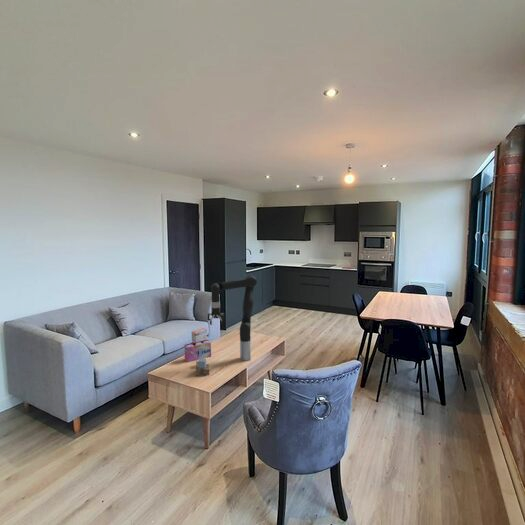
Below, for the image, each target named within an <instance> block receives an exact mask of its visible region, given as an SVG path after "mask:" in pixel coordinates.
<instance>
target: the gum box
mask: <svg viewBox="0 0 525 525" xmlns="http://www.w3.org/2000/svg"><path fill="white" fill-rule="evenodd" d="M210 357H212V342H211V341H210V340H209V339H207V340H204V341H200V342H195V343H192V342H191V343H187V344H184V360H185V361H186V362H187V363H190V362H195V361H196V360H199V359H206V358H210Z"/></svg>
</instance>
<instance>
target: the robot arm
mask: <svg viewBox="0 0 525 525" xmlns="http://www.w3.org/2000/svg"><path fill="white" fill-rule="evenodd" d="M257 280H258V279H257V278H256V276H254V275H252V274H251V275H250V274H249V275H247V276H246V278H245V279H241V280H229V281H223V282H214V283H213V284H211V287H210V290H211V292H210V293H211V304H210V307H211V313H210V312H208V313H207V321H209V325H210V326H212V325H213V319H219V320H220V321H219V322H220V326H222V325H223V321H225V313H224V312H221V300H220V299H221V298H220V291H228V290H233V289H234V290H235V289H239V288H245V289H244V290H245V291H244V295H243V300H242V301H243V302H242V319H241V323H240V327H239V357H240V358H239V359H240V360H241V361H250V360H251V357H252V356H251V354H252V353H251V352H252V351H251V349H252V348H251V326H252V325H251V322H252V321H251V320H252V313H253V310H254V302H255V301H254V300H255V298H254V296H255V295H254V290H255V286H256V285H257V284H258V281H257ZM210 316H211V317H210Z"/></svg>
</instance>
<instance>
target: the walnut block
mask: <svg viewBox="0 0 525 525" xmlns="http://www.w3.org/2000/svg"><path fill="white" fill-rule="evenodd" d="M195 371H196V373H195V375H196V377H202V376H204V377H205V376H210V366H209V363H206V368H205V369H199V365H196V364H195Z"/></svg>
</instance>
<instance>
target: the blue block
mask: <svg viewBox="0 0 525 525" xmlns="http://www.w3.org/2000/svg"><path fill="white" fill-rule="evenodd" d="M206 364H207V359H206V358H203V359H200V360H199V369H205V368H206Z"/></svg>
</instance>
